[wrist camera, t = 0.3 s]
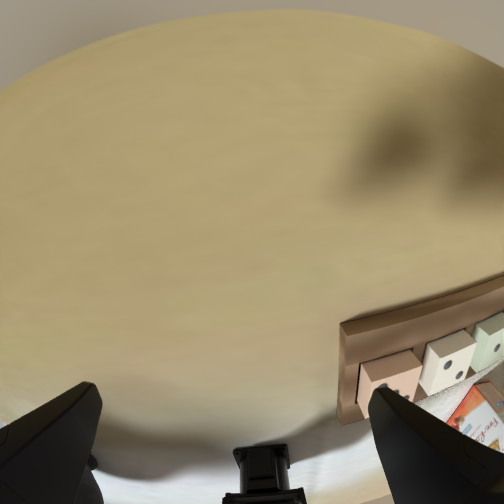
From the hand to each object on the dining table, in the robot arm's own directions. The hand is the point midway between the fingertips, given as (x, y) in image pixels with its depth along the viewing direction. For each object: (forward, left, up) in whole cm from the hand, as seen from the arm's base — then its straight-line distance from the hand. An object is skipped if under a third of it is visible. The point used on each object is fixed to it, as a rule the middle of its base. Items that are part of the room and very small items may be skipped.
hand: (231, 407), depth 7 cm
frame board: (-13, -18, -14) cm, 26 cm away
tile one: (-13, -25, -12) cm, 31 cm away
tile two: (-13, -18, -12) cm, 25 cm away
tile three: (-13, -11, -12) cm, 21 cm away
